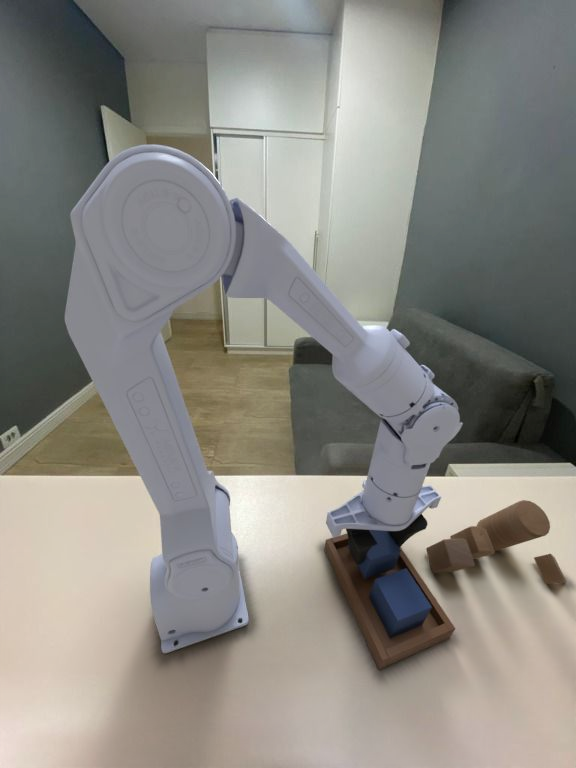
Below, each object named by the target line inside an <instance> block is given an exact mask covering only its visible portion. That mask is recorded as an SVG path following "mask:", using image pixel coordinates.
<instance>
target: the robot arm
mask: <svg viewBox="0 0 576 768" xmlns="http://www.w3.org/2000/svg"><path fill="white" fill-rule="evenodd" d="M69 216H70V217H69V218H70V222H71V227H72V232H73V236H74V239H75V240H74V241H75V246H74V252H73V259H72V266H71V272H70V278H69V285H68V291H67V297H66V305H65V310H64V323H65V326H66V330H67V333H68V335H69V338H70V339H71V342H72V343H73V345H74V347H75V349H76V351H77V353H78V355H79V357H80V360H81V361H82V363H83V365H84V368H85V369H86V371H87V373H88V375H89V377H90V380H91V381H92V382H93V385H94V387H95V389H96V391H97V393H98V395H99V397H100V399H101V400H102V403H103V405H104V407H105V409H106V411H107V413H108V415H109V416H110V417H109V418H110V419H111V421H112V423H113V425H114V427H115V429H116V431H117V433H118V435H119V437H120V439H121V441H122V443H123V445H124V446H125V447H124V448H125V449H126V451H127V453H128V454H129V457H130V458H131V461H132V463H133V464H134V466H135V469H136V470H137V472H138V475H139V477H140V478H141V481H142V482H143V484H144V486H145V488H146V491H147V492H148V495H149V496H150V499H151V500H152V502H153V504H154V507H155V509H156V510H157V512H158V514H159V522H160V523H159V524H160V538H161V540H160V541H161V554H159V555H156V556H154V557H153V558H151V561H150V568H149V569H150V570H149V571H150V572H149V573H150V574H149V594H150V595H149V597H150V605H151V606H150V607H151V612H152V617H153V620H154V623H155V626H156V629H157V633H158V635H159V639H160V641H161V642H160V649H161V652H162V653H163V654H168V653H171V652H174V651H177V650H179V649H182V648H185V647H188V646H191V645H193V644H194V645H195V644H197V643H201V642H203V641H205V640H208V639H211V638H214V637H216V636H220V635H222V634H225V633H228V632H231V631H234V630H237V629H239V628H242V627H245V626H247V625H248V624H249V621H250V618H249V613H248V608H247V602H246V601H247V600H246V597H245V592H244V587H243V581H242V578H241V577H242V576H241V569H240V563H239V562H240V561H239V546H238V542H237V541H238V540H237V539H236V536H235V535H234V533H233V532H232V519H231V509H230V507H231V495H230V492H229V490H228V489H227V488H226V487H225V486H223V485H222V484H221V483H219V481H218V480H217V479H216V476H215V473H214V471H213V470H208V467H207V465H206V463H205V459H204V455H203V453H202V450H201V447H200V444H199V442H198V441H199V440H198V438H197V436H196V433H195V429H194V426H193V423H192V420H191V416H190V415H189V411H188V409H187V405H186V402H185V399H184V396H183V393H182V390H181V388H180V384H179V382H178V379H177V375H176V373H175V369H174V367H173V364H172V361H171V358H170V355H169V352H168V348H167V345H166V343H165V340H164V337H163V334H162V330H163V328H164V326H165V325H166V324H167V323H168V321H169V320H170V318H171V317H172V315H173V314H174V313H175V310H176V309H177V308H179V307H180V306H182V305H184V304H186V303H187V302H189V301H191V300H192V299H194V298H195V297H197V296H199V295H201V294H202V293H203V292H205V291H206V290H207V289H209V288H210V287H211V286H213V285H214V284H215V283H217V282H218V280H219V279H220V278H221V282H222V285H223V286H222V287H223V290H224V295H225V297H226V298H232V299H266V300H268V301H270V302H271V303H272V304H273V305H275V307H277V308H278V309H279V310H280V311H282V313H284V315H286V316H287V317H288V318H290V319H291V320H292V321H293V322H294V323H295V324H297V325H298V326H299V327H300V328H301V329H302V330H303V331H305V332H306V333H307V334H308V335H309V336H310V337H312V338H313V339H314V340H315V341H316V342H318V343H319V344H320V345H321V346H322V347H323V348H324V349H325V350H327V351H328V352H329V353H330V354H331V355H332V358H331V359H332V360H331V367H332V368H331V370H332V374H333V377H334V379H335V380H336V381H337V382H339V383H340V384H341V385H342V386H343V387H345V389H346V390H348V391H349V392H350V393H351V394H352V395H354V396H355V397H356V398H357V399H358V400H359V401H361V403H363V404H364V405H365V406H366V407H368V409H370V410H371V411H372V412H374V413H375V414H376V415H377V416H378V417H380V418H381V419H380V422H379V426H378V430H377V435H376V438H375V443H374V447H373V450H372V454H371V460H370V462H369V463H370V464H369V468H368V470H367V471H368V472H367V476H366V479H364V480H363V481H362V488H363V490H361V491H360V492H358V493H357V494H356V495H354V496H353V497H352V498H350V499H349V500H347V501H346V502H345V503H343V504H341V505H340V506H339V507H337V508H335V509H332V510H329V511H327V513H326V519H325V524H326V526H327V529H328V530H329V533H330V535H331V536H332V538H333V537H337V536H340V535H342V532H343V530H345V531H346V534H347V535H348V539H349V548H350V553H351V555H352V557H353V559H354V560H355V562H356V564H357V565H358V564H361V563H362V562H363V561H364V559H365V557H366V555H367V552H368V551H369V549H370V548H371V547H373V546H374V545H376V544H377V542H376V540H375V539H374V537H373V536H372V534H371V532H370V530H382V531H388V532H389V533H390V535H391V536H392V538H393V539H394V541H395V542H396V544H397V545H398V547H399V548H400V547H401V548H402V546H403V545H404V544H405V543H406V542H407V541H408V540H409V539H410V538H411V537H413V536H414V535H416V534H418V533H420V532H422V531H424V530H426V529H427V527H428V520H427V519H426V517H425V516H424V515H423V513H424V512H425V511H426V510H427V509H428V508H429V509H431V510H433V509H436V508H438V507H439V504H440V502H441V499H442V496H441V495H440V493H438V491H437V490H436V489H435V488H434V487H433V486H432V485H430V484H429V485H424V482H425V480H426V477H427V475H428V471H429V469H430V466H431V464H432V463H434V462H435V461H436V460H437V459H439V458H440V455H441V453H442V451H443V449H444V448H445V446H446V445H447V444H448V443H449V442H451V441H453V439H454V438H455V437H456V436H457V434H458V433H459V432H460V431H461V429H462V427H463V424H464V423H463V422H461V416H460V413H459V405H458V403H457V401H456V400H455V399H454V398H452V397H451V395H449V394H447V393H446V392H445V391H443V390H442V389H441V388H439V387H438V386H437V385H436V384H434V381H433V379H434V378H435V376H436V375H435V373H434V372H433V371H432V370H431V368H429V367H428V366H426V365H424V364H420V365H419V363H418V362H417V361H416V360H415V359H414V358H413V356H412V355H411V354H410V353H409V352H408V350H407V348H408V347H409V346H410V344H411V342H410V341H409V339H408V338H407V337H406V336H405V335H404V334H403V333H402V332H400V331H398V330H396V329H395V328H392V329H391V330H389V329H388V328H387V327H386V326H382V325H375V324H374V325H373V324H372V325H361V323H360V322H359V321H358V319H356V318H355V317H354V315H353V314H352V312H350V310H349V309H348V308H347V307H346V306H345V305H344V303H343V302H342V301H341V300H340V299H339V298H338V296H337V295H336V294H335V293H334V292H333V290H332V289H331V288H330V287H329V286H328V284H327V283H325V281H324V280H323V279H322V277H320V276H319V274H318V273H317V272H316V271H315V270H314V269H313V267H312V266H311V265H310V264H309V263H308V262H307V261H306V259H305V258H304V256H302V255H301V253H300V252H299V251H298V250H297V249H296V248H295V246H293V244H292V243H291V242H290V241H289V240H288V239H287V238H286V237H285V236H284V235H283V234H282V233H281V232H280V231H279V230H278V229H277V228H275V227H274V226H273V225H272V224H270V222H268V220H266V219H265V218H264V217H263V216H262V215H261V214H260V213H259V212H257V211H256V210H255V209H254V208H252V207H251V206H250V205H248V204H247V203H246V202H244V200H242V199H241V198H239V197H238V196H237V197H234V198H231V199H229V197H228V194H227V192H226V190H225V189H224V188H223V186H222V185H221V183H220V181H219V180H218V179H217V178H216V176H215V175H214V174H213V173H212V171H210V169H208V168H207V167H206V166H205V165H204V164H203V163H202V162H200V161H199V160H198V159H196V158H195V157H193V156H192V155H190V154H189V153H186V152H185V151H182V150H180V149H178V148H174V147H172V146H168V145H163V144H162V145H161V144H155V143H153V144H140V145H136V146H132V147H129V148H127V149H125V150H123V151H120V152H119V153H117V154H116V155H115V156H113V157H112V158H111V159H110V160H109V161H108V162H107V163H106V165H104V167H102V169H101V170H100V172H99V173H98V175H97V176H96V177H95V179H94V180H93V182H92V183H91V184H90V186H89V187H88V189H87V190H86V191H85V193H84V194H83V195H82V196H81V198H80V199H79V201H77V203H76V204H75V206H73V208H72V210H71V212H70V213H69ZM239 621H241V622H239ZM176 643H177V644H176ZM175 644H176V645H175Z"/></svg>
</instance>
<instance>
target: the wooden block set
mask: <svg viewBox="0 0 576 768" xmlns="http://www.w3.org/2000/svg"><path fill="white" fill-rule="evenodd" d="M550 522H551V521H550V520H549V517H548V515H547V514H546V512H545V510H543V509H542V507H541V506H539V505H538V504H537V503H535V502H532V501H531V500H527V499H526V500H524V499H522V500H519V501H517V502H515V503H512V504H511V505H508V506H507V507H504V508H502V509H499V511H497V512H494V513H493V514H490V515H488V516H486V517H484V518H482V519H480V520H479V521H478V522H477V524H476V525H473V526H471V525H470V526H468V527H466V528H464V529H462V530H460V531H458V532H456V533H454V534H451V535H450V536H449V538H444V539H442V540H440V541H438V542H436V543H434V544H432V545H430V546H428V547H426V549H425V550H426V554H427V558H428V561H429V565H430V568H431V571H432V573H434V574H436V573H437V574H438V573H453V572H454V573H455V572H458V571H462V570H465V569H468V568H473V567H474V566H475V565H476V563H475V560H476V559H480V558H484V557H487V556H489V555H493V554H495V551H501V550H503V549H508V548H510V547H513V546H517V545H519V544H520V545H521V544H523V543H526V542H529V541H532V540H536V539H539V538H542V537H545V536H547V535H548V534H549V532H550V530H551V529H550V528H551V523H550ZM474 559H475V560H474ZM533 559H534V562H535V564H536V566H537V568H538V570H539V572H540V574H541V577H542V579H543V581H544V584H564V583H567V580H566V579H567V578H565V575H564V573H563V571H562V569H561V567H560V566H559V563H558V561H557V559H556V557H555V556H554V555H553V554H552V553H547V554H543V555H538V556H534V557H533Z"/></svg>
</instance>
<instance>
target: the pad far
mask: <svg viewBox="0 0 576 768" xmlns="http://www.w3.org/2000/svg"><path fill="white" fill-rule="evenodd" d="M370 532H371V534H372V536H373V537H374V539H375V540H376V542H377V544H376V545H374V546H373V547H371V548H370V549H369V551H368V552H367V555H366V557H365V559H364V561H363V562H362V563H361V564H358V565H357V566H358V568H359V570H360V571H361V573H362V575H363V577H364V579H366V578H369V577H372V576H375V575H378V574H381V573H384V572H387V571H389V570H392V569H394V568H395V565H396V563H397V560H398V557H399V555H400V552H401V550H400V548H399V547H398V545H397V544H396V542H395V541H394V539H393V538H392V536H391V535H390V533H389V532H388V531H382V530H370ZM348 548H349V544H348ZM349 550H350V548H349Z"/></svg>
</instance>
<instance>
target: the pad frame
mask: <svg viewBox="0 0 576 768" xmlns="http://www.w3.org/2000/svg"><path fill="white" fill-rule="evenodd" d="M348 544H349V539H348V535H347V533H344V534H341V535H340V536H336V537H333V536H332V537H330V538H326V539H325V543H324V547H323V548H324V551H325V554H326V555H327V558H328V560H329V563H330V565H331V567H332V569H333V571H334V574H335V575H336V578H337V580H338V582H339V584H340V587H341V589H342V591H343V593H344V596H345V598H346V600H347V602H348V604H349V606H350V609H351V611H352V614H353V616H354V618H355V620H356V622H357V624H358V626H359V629H360V631H361V633H362V635H363V637H364V640H365V642H366V644H367V647H368V649H369V651H370V653H371V655H372V657H373V659H374V662H375V664H376V666H377V669H378V670H381V669H383V668H385V667H388V666H390V665H392V664H394V663H397V662H398V661H399V662H400V661H401V660H403V659H405V658H408V657H410V656H412V655H414V654H417V653H419V652H422V651H424V650H425V649H427V648H429V647H432V646H434V645H436V644H438V643H441V642H443V641H445V640H447V639H450V638H451V636H453V633H454V632H455V630H456V626H455V625H454V624H453V623H452V621H451V619H450V618H449V616H448V615H447V613H446V612H445V611H444V609H443V608H442V606H441V605H440V603H439V602H438V600H437V599H436V598H435V596H434V595H433V593H432V591H431V590H430V589H429V587H428V586H427V584H426V583H425V581H424V579H423V578H422V576H421V575H420V574H419V573H418V571H417V569H416V568H415V566H414V565H413V564H412V562H411V561H410V559H409V557H408V555H406V553H405V552H404V550H403V548H402V546H401V547H400V550H401V552H400V555H399V557H398V560H397V563H396V565H395V568H394V569H392V570H389V571H387V572H384V573H381V574H378V575H375V576H372V577H369V578H366V579H364V577H363V575H362V573H361V571H360V570H359V568H358V566H357V564H356V562H355V560H354V559H353V557H352V555H351V553H350V550H349V548H348ZM405 568H407V570H408V571H409V573H410V574H411V576H412V578H413V579H414V581H415V582H416V584H417V585H418V587H419V588H420V590H421V591H422V593H423V594H424V596H425V597H426V599H427V600H428V602H429V604H430V605H431V607H432V608H431V609H430V611H429V613H428V615H427V617H426V619H425V621H424V623H423V625H421V626H418V627H416V628H414V629H411V630H409V631H407V632H404V633H402V634H399V635H397V636H395V637H392V638H390V637H389V635H388V633H387V631H386V629H385V627H384V626H383V624H382V622H381V620H380V618H379V616H378V614H377V612H376V610H375V608H374V606H373V604H372V602H371V600H370V598H369V595H370V592H371V589H372V586H373V583H374V580H375V579H377V578H379V577H382V576H385V575H388V574H391V573H394V572H397V571H399V570H402V569H405Z"/></svg>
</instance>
